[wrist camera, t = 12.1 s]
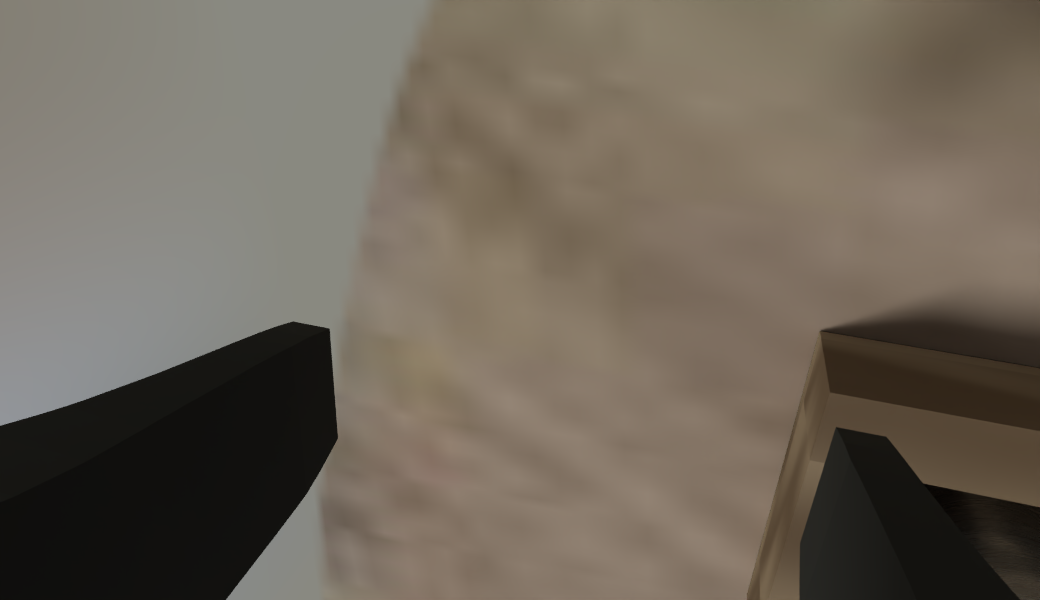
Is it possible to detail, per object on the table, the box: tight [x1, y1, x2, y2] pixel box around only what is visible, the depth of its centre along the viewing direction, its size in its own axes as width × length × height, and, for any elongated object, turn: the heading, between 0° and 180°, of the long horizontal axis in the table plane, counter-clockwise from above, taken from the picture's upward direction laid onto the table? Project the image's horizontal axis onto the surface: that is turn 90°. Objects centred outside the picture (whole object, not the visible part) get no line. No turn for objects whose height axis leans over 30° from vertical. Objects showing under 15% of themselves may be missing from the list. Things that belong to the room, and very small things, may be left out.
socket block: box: [747, 331, 1040, 600], centre depth 20 cm, size 10×10×3 cm
